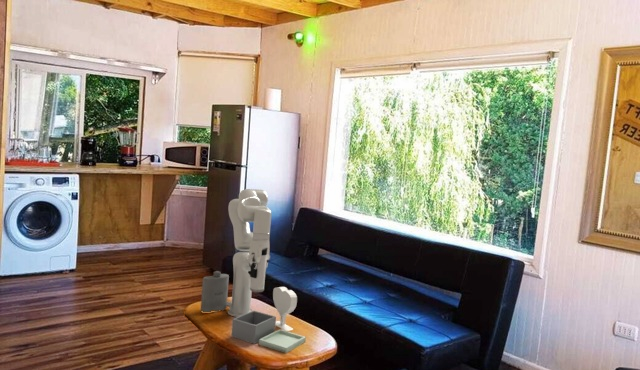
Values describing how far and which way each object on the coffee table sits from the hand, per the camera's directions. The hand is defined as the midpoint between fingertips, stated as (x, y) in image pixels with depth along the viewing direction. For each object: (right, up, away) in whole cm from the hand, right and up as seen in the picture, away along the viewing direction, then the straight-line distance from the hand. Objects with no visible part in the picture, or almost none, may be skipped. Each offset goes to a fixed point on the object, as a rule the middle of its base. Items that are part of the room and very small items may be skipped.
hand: (258, 275), depth 225 cm
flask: (-26, -23, +30) cm, 46 cm away
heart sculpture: (+10, -27, +17) cm, 34 cm away
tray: (+11, -29, -4) cm, 31 cm away
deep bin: (-2, -27, +2) cm, 27 cm away
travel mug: (-1, -7, +1) cm, 7 cm away
